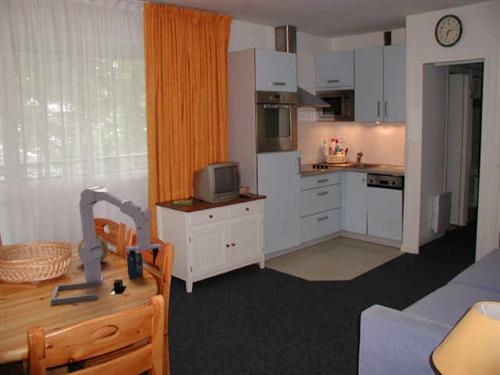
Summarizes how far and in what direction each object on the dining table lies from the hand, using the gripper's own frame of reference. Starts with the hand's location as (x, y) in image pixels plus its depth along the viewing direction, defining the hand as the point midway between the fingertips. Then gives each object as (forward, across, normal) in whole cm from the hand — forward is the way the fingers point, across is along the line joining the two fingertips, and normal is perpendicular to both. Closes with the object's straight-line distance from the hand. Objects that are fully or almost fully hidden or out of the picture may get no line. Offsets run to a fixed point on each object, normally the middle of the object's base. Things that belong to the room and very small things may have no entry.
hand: (144, 266), depth 214 cm
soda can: (+10, -4, +15) cm, 18 cm away
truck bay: (+9, -29, 0) cm, 31 cm away
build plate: (+10, -12, 0) cm, 16 cm away
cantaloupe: (+10, -24, +43) cm, 50 cm away
